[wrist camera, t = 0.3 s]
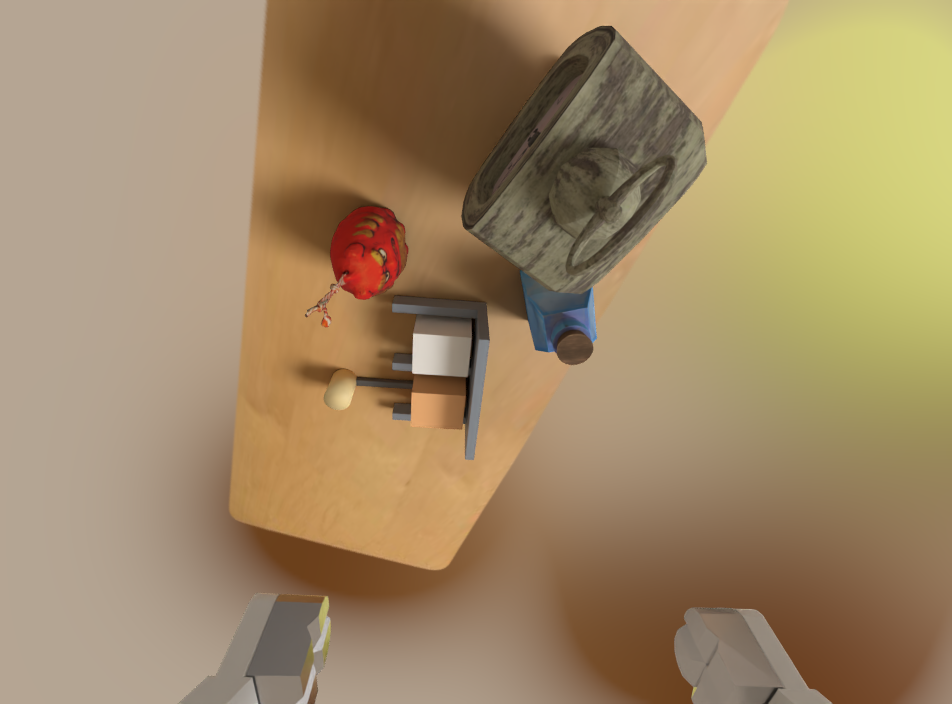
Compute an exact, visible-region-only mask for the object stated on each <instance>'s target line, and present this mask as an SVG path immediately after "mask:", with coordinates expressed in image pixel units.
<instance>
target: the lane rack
mask: <svg viewBox="0 0 952 704" xmlns="http://www.w3.org/2000/svg"><path fill="white" fill-rule="evenodd" d="M392 312H397V313H410V314H423V315H436V316H450V317H463V318H475V327H474V336H473V346H472V355H471V359H470V360H469V369H468V375H469V382H468V391H467V400H466V407H465V408H464V417H463V424H465V459H466V460H474V454H475V447H476V439H477V432H478V424H479V417H480V409H481V402H482V394H483V387H484V379H485V372H486V364H487V356H488V349H489V341H490V338H489V327H488V316H487V305H486V303H485V302H472V301H460V300H447V299H434V298H422V297H409V296H396V295H395V296H394V299H393V303H392ZM412 360H413V355H412V354H398V353H395V354H394V358H393V362H392V370H399V371H412ZM393 420H408V421H411V404H402V403H395V404H394V409H393Z"/></svg>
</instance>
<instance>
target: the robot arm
mask: <svg viewBox="0 0 952 704" xmlns="http://www.w3.org/2000/svg"><path fill="white" fill-rule="evenodd" d="M328 608H329V601H328V596H311V595H287V594H268V593H256V594H255V595H254V596H253V598H252V599H251V601H250V602H249V604H248V606H247V609H246V610H245V613H244V615H243V617H242V619H241V621H240V624H239V626H238V628H237V630H236V632H235V635H234V637H233V639H232V641H231V644H230V646H229V648H228V650H227V652H226V655H225V657H224V659H223V661H222V663H221V665H220V667H219V670H218V672H217V674H216V676H208V677H207V678H205V679H204V680H203V681H202V682H201V683H200V684H199V685H198V686H197V687H196V688H195V689H193V690H192V691H191V692H190V693H189V694H188V695H187V696H186V697H185V698H184V699H182V700H181V701H180V702H179V703H178V704H315V699H316V696H317V692H318V687H317V677H316V675H317V674H318V673H319V672H320V671H321V670H322V669H323V668H324V665H325V661H326V657H327V653H328V648H329V642H330V633H331V623H330V618H329V617H327V612H328ZM684 619H685V621H686V623H687V624H686V625H684V626H683V627H681V628H680V629H678V631H677V634H676V636H675V640H674V641H675V655H676V659H677V663H678V666H679V669H680V671H681V674H682V676H683V677H684V678H685V679H686V680H687V681H688V682H689V683H690V684H691V685H692V686H693V687H694V688H693V693H692V698H691V699H692V701H693V703H694V704H832V703H831V702H830V701H829V700H827V699H826V698H825V697H824V696H823V695H821V694H820V693H819V692H818V691H817V690H813V689H808V687H807V685H806V684H805V682H804V680H803V679H802V677H801V676H800V674H799V672H798V671H797V669H796V668H795V666H794V664H793V663H792V661H791V660H790V658H789V656H788V655H787V653H786V652H785V650H784V648H783V647H782V646H781V644H780V642H779V641H778V639H777V637H776V636H775V634H774V632H773V631H772V629H771V628H770V626H769V625H768V623H767V621H766V620H765V618H764V617H763V615H762V614H760V613H759V612H758V611H757V610H752V609H732V608H691V609H689V610H687V612H686V614H685V616H684Z"/></svg>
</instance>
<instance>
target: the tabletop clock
mask: <svg viewBox="0 0 952 704" xmlns="http://www.w3.org/2000/svg"><path fill="white" fill-rule="evenodd" d="M706 164H707V160H706V150H705V140H704V132H703V127H702V122H701V121H700V120H699V119H698V118H697V116H696V115H695V114H694V113H693V112H692V111H691V110H690V109H689V108H688V107H687V106H686V105H685V104H684V103H683V101H682V100H681V99H680V98H679V97H678V96H677V95H676V94H675V93H674V92H673V91H672V90H671V89H670V88H669V86H668V85H667V84H666V83H665V82H664V81H663V80H662V79H661V78H660V77H659V76H658V75H657V74H656V73H655V71H654V70H653V69H652V68H651V67H650V66H649V65H648V64H647V63H646V62H645V61H644V60H643V59H642V57H641V56H640V55H639V54H638V53H637V52H636V51H635V50H634V49H633V48H632V47H631V46H630V45H629V44H628V42H627V41H626V40H625V39H624V38H623V37H622V36H621V35H620V34H619V33H618V32H617V31H616V30H615V29H614V28H613V27H612V26H599V27H597V28H595V29H593V30H591V31H589V32H587V33H585V34H584V35H582V36H581V37H579V38H578V39H577V40H576V41H574V42H573V43H572V44H571V45H570V46H569V47H568V48H567V49H566V51H565V52H564V53H563V54H562V56H561V57H560V58H559V59H558V61H557V62H556V63H555V65H554V66H553V67H552V69H551V70H550V71H549V72H548V74H547V75H546V77H545V78H544V79H543V81H542V82H541V83H540V85H539V86H538V87H537V89H536V90H535V92H534V93H533V94H532V96H531V97H530V99H529V100H528V101H527V103H526V104H525V105H524V107H523V108H522V110H521V111H520V112H519V114H518V115H517V116H516V118H515V119H514V121H513V122H512V123H511V125H510V126H509V128H508V129H507V131H506V132H505V133H504V135H503V136H502V138H501V139H500V141H499V142H498V143H497V145H496V146H495V148H494V149H493V151H492V152H491V153H490V155H489V156H488V158H487V159H486V161H485V162H484V164H483V165H482V167H481V168H480V170H479V171H478V173H477V174H476V176H475V177H474V179H473V180H472V182H471V184H470V185H469V188H468V190H467V193H466V195H465V199H464V202H463V209H462V215H461V216H462V222H463V227H464V228H465V229H466V230H467V231H469V232H470V233H471V234H473V235H474V236H475V237H477V238H478V239H479V240H481V241H482V242H483V243H485V244H486V245H488V246H489V247H490V248H492V249H493V250H494V251H496V252H497V253H498V254H500V255H501V256H503V257H504V258H505V259H507V260H508V261H509V262H511V263H512V264H513V265H515V266H516V267H518V268H519V269H520V270H522V271H523V272H524V273H526V274H527V275H528V276H530V277H531V278H532V279H534V280H535V281H537V282H538V283H539V284H541V285H542V286H543V287H545V288H546V289H547V290H549V291H553V292H559V293H574V294H583V293H584V292H586V291H587V290H589V289H590V288H592V287H593V286H594V285H595V284H597V283H598V282H599V281H600V280H601V279H602V278H603V277H604V276H605V275H607V274H608V273H609V272H610V271H611V270H612V269H613V268H614V267H615V266H616V265H617V264H618V263H619V262H620V261H621V260H622V259H623V258H624V257H625V256H626V255H627V254H628V253H629V252H630V251H631V250H632V249H633V248H634V247H635V246H636V245H637V244H638V243H639V242H640V241H641V240H642V239H643V238H644V237H645V236H646V235H647V234H648V233H649V232H650V230H651V229H652V228H653V227H654V226H655V225H656V224H657V223H658V222H659V221H660V220H661V219H662V217H663V216H664V215H665V214H666V213H667V212H668V211H669V210H670V209H671V207H673V205H674V204H675V203H676V202H677V201H678V200H679V199H680V198H681V197H682V196H683V195H684V194H685V192H686V191H687V190H688V189H689V188H690V187H691V185H692V184H693V183H694V181H695V180H696V179H697V178H698V176H699V175H700V173H701V172H702V170H703V169H704V167H705V166H706Z"/></svg>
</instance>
